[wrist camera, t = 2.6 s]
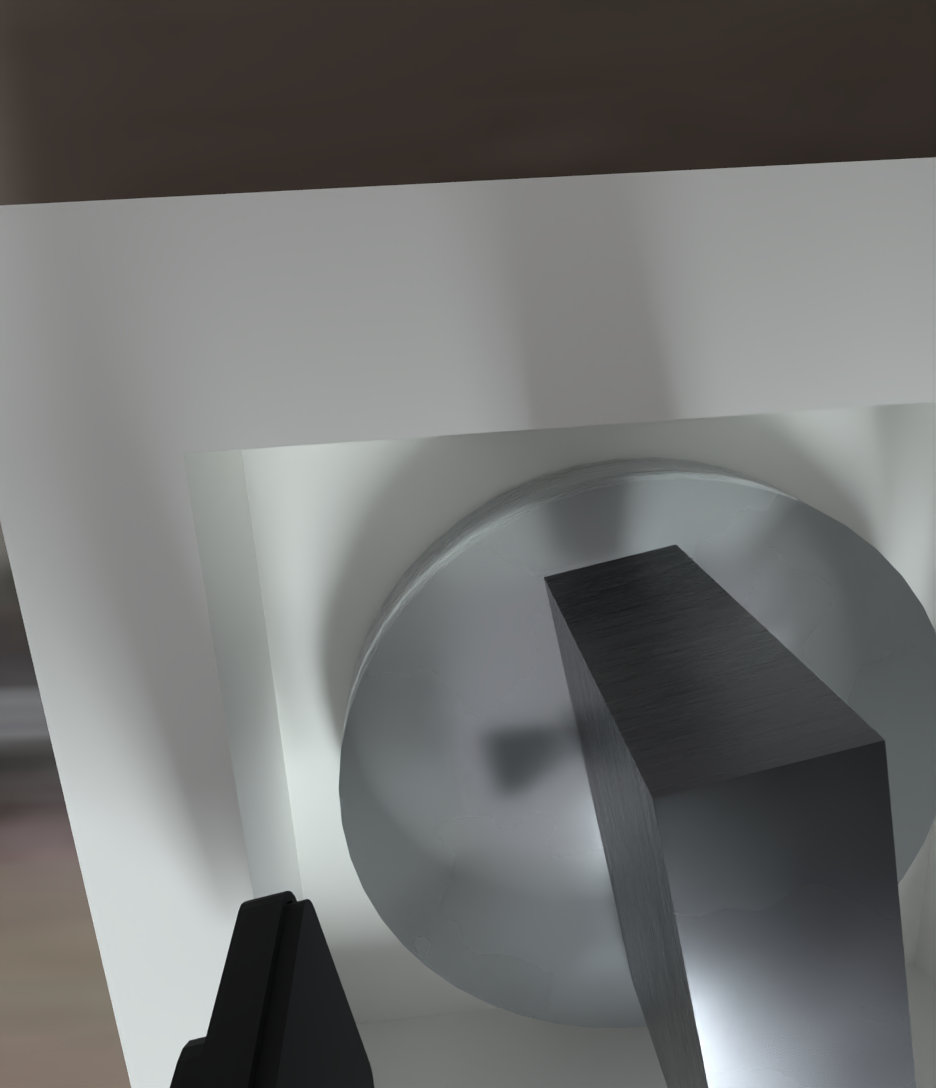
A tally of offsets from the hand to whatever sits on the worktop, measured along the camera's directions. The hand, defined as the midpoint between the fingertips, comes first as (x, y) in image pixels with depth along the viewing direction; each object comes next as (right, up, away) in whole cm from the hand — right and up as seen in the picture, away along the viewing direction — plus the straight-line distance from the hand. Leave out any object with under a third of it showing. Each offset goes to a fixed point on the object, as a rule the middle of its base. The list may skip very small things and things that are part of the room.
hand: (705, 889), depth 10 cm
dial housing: (0, +2, +5) cm, 5 cm away
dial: (0, +1, +3) cm, 4 cm away
